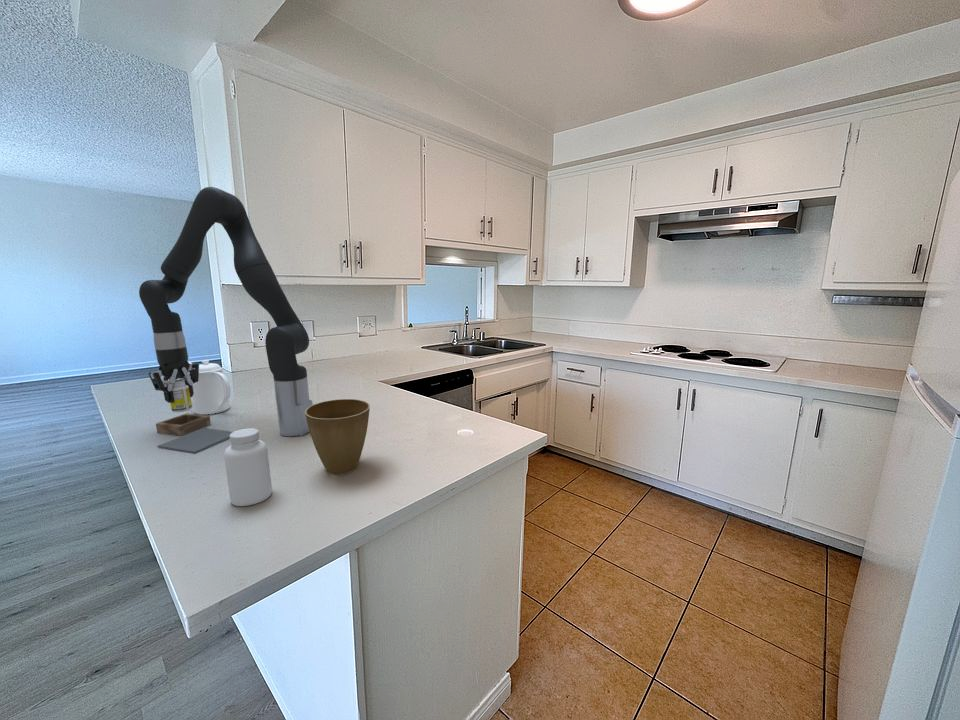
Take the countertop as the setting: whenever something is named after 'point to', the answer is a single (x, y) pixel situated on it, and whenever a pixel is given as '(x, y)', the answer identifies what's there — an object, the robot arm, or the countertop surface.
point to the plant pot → (338, 432)
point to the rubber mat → (197, 440)
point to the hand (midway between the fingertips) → (180, 399)
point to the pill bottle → (247, 468)
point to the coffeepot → (211, 390)
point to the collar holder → (183, 424)
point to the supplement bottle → (181, 396)
